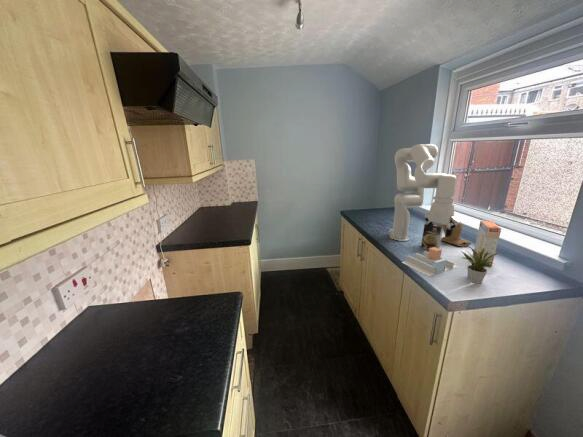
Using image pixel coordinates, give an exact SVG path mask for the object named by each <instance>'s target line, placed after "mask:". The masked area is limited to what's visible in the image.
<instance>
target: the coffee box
mask: <svg viewBox="0 0 583 437" xmlns="http://www.w3.org/2000/svg"><path fill="white" fill-rule="evenodd" d="M443 226H444V225H443V224H439V223H435V222H433V230H432V231H427V227H428V224H427V222H426V223H424V225H423V232H422V238H421V242H420V243H421V244H420V248H421V249H425V250H428V251H429V248H433V247H436V248H439V249H441V248H440V247H441V243H442V242H441V241H442V240H441V238H442V235H443V232H444V229H443Z"/></svg>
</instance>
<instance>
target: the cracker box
mask: <svg viewBox="0 0 583 437" xmlns="http://www.w3.org/2000/svg"><path fill="white" fill-rule="evenodd" d="M478 226H479V227H478V230H477V235H476V240H475V245H474V248H473V249H475V250H476V251H475V252H477V253H476V254H478V256H479V257H480V252H481V249H483V247H485V250H484V253H483V255H482V256H483V257H484V255H485V254H486V252H487V251H488V253H489V254H487V255H486V257H485V259H486V258H488V257H489V256H491V255H493V254H496V251H497V247H498V243H499V239H500V235H501V232H502V228H501V227H500V226H499V225H497V223H495V222H494V221H493V220H480V223H479V225H478ZM472 256H474V253H473V252H472ZM475 257H476V256H475ZM483 257H482V259H483ZM492 258H493V259H492ZM490 259H491V260H490ZM490 259H488V260H489V261H488V260H487V261H486V263H487V262H492V263H494V259H495V256H493V257H491V258H490ZM489 265H492V266H493V264H489Z"/></svg>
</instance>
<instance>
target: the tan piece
mask: <svg viewBox="0 0 583 437" xmlns="http://www.w3.org/2000/svg"><path fill="white" fill-rule="evenodd" d="M458 221H459V222H460V223H459V224H458V225H457V227H455V228H454V229H453V230H452V235H451V236H449V237H446V230H447V229H448V228H447V226H446V225H444V226H443V232H444V236H443V237H441V241H442V242H446V243H449V244H452V245H455V246H458V247H468V246H469V247H470V245H472V242H470V241H467V240H465V239H462V238H460V237H461V234H462V232H463V223H462V222H461V221H460V220H458ZM452 224H453V225H454V222H453V223H452Z"/></svg>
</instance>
